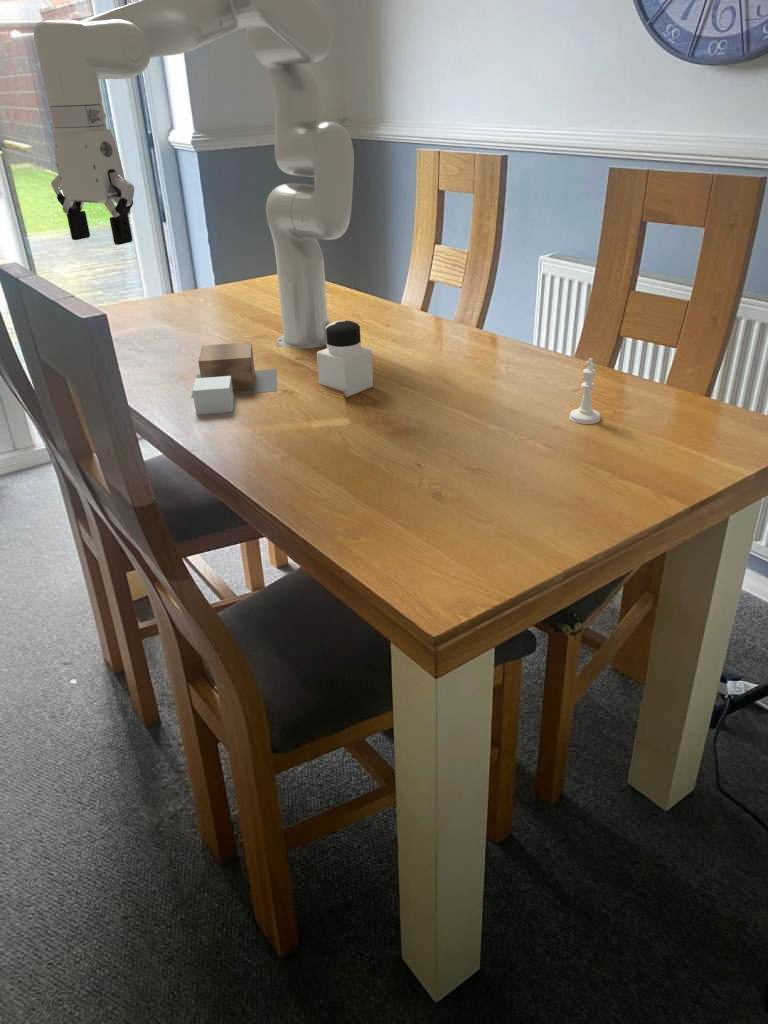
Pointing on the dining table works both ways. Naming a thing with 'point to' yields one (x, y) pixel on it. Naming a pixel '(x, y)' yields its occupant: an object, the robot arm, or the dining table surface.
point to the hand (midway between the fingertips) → (102, 240)
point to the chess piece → (586, 399)
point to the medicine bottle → (345, 359)
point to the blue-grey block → (213, 395)
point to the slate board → (260, 382)
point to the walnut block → (229, 364)
